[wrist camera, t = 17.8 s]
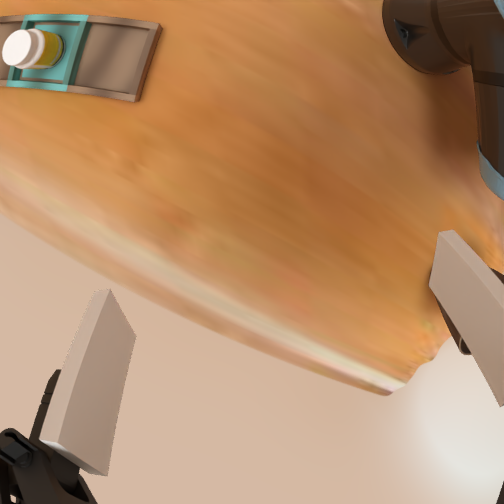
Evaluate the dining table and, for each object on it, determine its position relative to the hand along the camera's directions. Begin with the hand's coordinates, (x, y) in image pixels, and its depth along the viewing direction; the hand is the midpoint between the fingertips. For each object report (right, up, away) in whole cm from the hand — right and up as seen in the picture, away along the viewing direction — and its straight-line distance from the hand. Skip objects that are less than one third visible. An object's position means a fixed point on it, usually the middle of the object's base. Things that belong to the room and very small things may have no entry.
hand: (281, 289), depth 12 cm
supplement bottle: (-26, +26, +15) cm, 39 cm away
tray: (-26, +26, +16) cm, 40 cm away
